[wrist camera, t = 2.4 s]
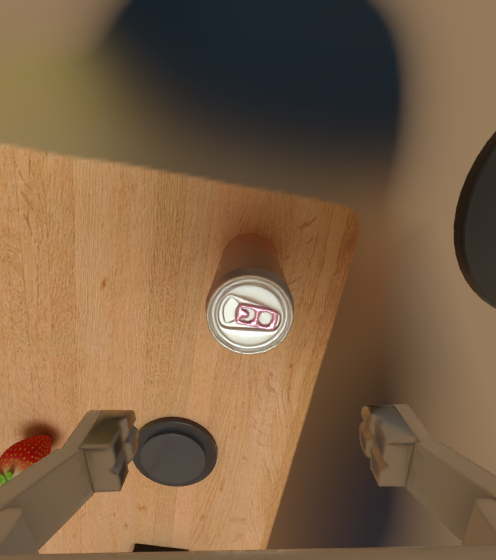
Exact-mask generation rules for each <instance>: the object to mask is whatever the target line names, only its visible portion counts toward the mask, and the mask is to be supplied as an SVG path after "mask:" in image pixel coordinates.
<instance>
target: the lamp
mask: <svg viewBox="0 0 496 560" xmlns="http://www.w3.org/2000/svg"><path fill="white" fill-rule="evenodd" d="M171 551H189V550H182V549H174V548H166V547H158V546H150V545H142V544H135V548H134V551H133V552H171Z"/></svg>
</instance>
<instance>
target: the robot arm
mask: <svg viewBox="0 0 496 560" xmlns="http://www.w3.org/2000/svg"><path fill="white" fill-rule="evenodd" d="M361 415H362V418H363V420H364V421H363V422H362V423H361V425H360V429H359V435H360V443H361V446H362V449H363V451H364V454H365V455H366V456H367V457H368V458H369V459H371V466H370V467H371V470H372V472H373V474H374V476H375V478H376V481H377V483H378V485H379V486H406V489H407V490H408V491H409V492H410V493H412V494H413V495H414V496H415V497H416V498H417V499H418V500H419V501H420V502H421V503H422V504H423V505H424V506H425V507H426V508H427V509H428V510H429V511H430V512H431V513H432V514H433V515H435V516H436V517H437V518H438V519H439V520H440V521H441V522H442V523H443V524H444V525H445V526H446V527H447V528H448V529H449V530H450V531H451V532H452V533H453V534H454V535H455V536H457V537H458V538H459V539H460V540H461V541H462V545H461V546H419V547H374V548H372V547H370V548H324V549H278V550H277V549H275V550H222V551H171V552H120V553H70V554H39V552H38V550H39V549H40V548H41V547H42V546H43V545H44V544H45V543H46V542H47V541H48V540H49V539H50V538H51V537H52V536H53V535H54V534H55V533H56V532H57V531H58V530H59V529H60V528H61V527H62V526H63V525H64V524H65V523H66V522H67V521H68V520H69V519H70V518H71V517H72V516H73V515H74V514H75V513H76V512H77V510H78V509H79V508H80V507H81V506H82V505H83V504H84V503H85V502H86V501H87V500H88V499H89V498H90V497H91V496H92V495H93V494H94V493H93V492H112V491H121V488H122V486H123V484H124V481H125V479H126V476H127V474H128V472H129V471H128V466H127V464H129V463H130V462H131V461H132V460H133V459H134V457H135V454H136V452H137V447H138V438H139V435H138V429H137V428H136V427H135V426H134V422H135V420H136V417H135V412H134V411H132V410H90V411H89V412H87V413H86V414H85V416H84V417H83V419H82V420H81V421H80V423H79V424H78V426H77V427H76V429H75V430H74V431H73V433H72V434H71V436H70V437H69V438H68V440H67V441H66V443H65V444H64V446H63V447H62V448H61V449H56V450H54V451H53V452H51V453H50V454H48V455H47V456H45V457H44V458H42V459H41V460H39V461H38V462H36V463H35V464H33V465H32V466H30V467H29V468H27V469H26V470H24V471H23V472H21V473H20V474H18V475H17V476H15V477H14V478H12V479H11V480H9V481H8V482H6V483H5V484H3V485H2V486H0V560H496V476H495V475H494V474H492V473H490V472H489V471H487V470H485V469H484V468H482V467H480V466H479V465H477V464H475V463H474V462H472V461H471V460H469V459H468V458H466V457H464V456H463V455H461V454H459V453H458V452H456V451H454V450H453V449H451V448H450V447H448V446H447V445H445V444H443V443H442V442H436V441H435V440H434V438H433V437H432V436H431V434H430V433H429V432H428V430H427V429H426V428H425V427H424V425H423V424H422V422H421V421H420V420H419V418H418V417H417V416H416V415H415V413H414V412H413V411H412V409H411V408H410V407H409V406H408V405H406V404H405V405H392V406H391V405H382V406H364V407H363V408H362V413H361Z"/></svg>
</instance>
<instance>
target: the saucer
mask: <svg viewBox="0 0 496 560" xmlns="http://www.w3.org/2000/svg"><path fill="white" fill-rule="evenodd" d="M138 435H139V438H138V447H137V452H136V454H135V457H134V459H133V462H134V464H135V466H136V467H137V469H138V470H139V471H140V472H141V473H142V474H143V475H144V476H146V477H147V478H149V479H150V480H152V481H154V482H157V483H159V484H163V485H167V486H187V485H191V484H195V483H197V482H199V481H201V480H203V479H204V478H206V477H207V476H208V475H209V474H210V473H211V472H212V470H213V468H214V467H215V464H216V460H217V446H216V443H215V441H214V439H213V437H212V436H211V434H210V433H209V432H208V431H207V430H206V429H204V428H203V427H202V426H200V425H199V424H197V423H195V422H193V421H190V420H187V419H183V418H173V417H170V418H162V419H158V420H154V421H152V422H150V423H148V424H147V425H145V426H144V427H143V428H141V429H140V431H139V432H138Z"/></svg>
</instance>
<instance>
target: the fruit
mask: <svg viewBox="0 0 496 560" xmlns="http://www.w3.org/2000/svg"><path fill="white" fill-rule="evenodd" d="M51 446H52V440H51V438H50V437H49V436H47V435H36V436H32V437H30V438H27V439H24V440H22V441H19V442H17V443H15V444H14V445H12V446H11V447H9V448H8V449H7V450H6V451H5V452H4V453H3V454H2V456H1V457H0V485H1V486H2V485H3V484H5V483H6V482H8V481H9V480H11V479H12V478H14V477H15V476H17V475H18V474H20V473H21V472H23V471H24V470H26V469H27V468H29V467H30V466H32V465H33V464H35V463H36V462H38V461H39V460H41V459H42V458H44V457H45V456H47V455H48V454H50V452H51Z"/></svg>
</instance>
